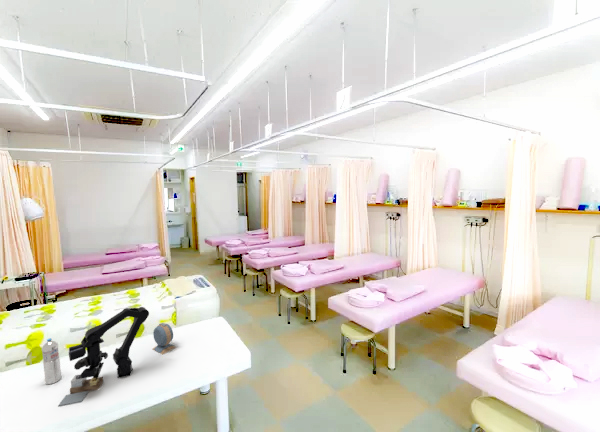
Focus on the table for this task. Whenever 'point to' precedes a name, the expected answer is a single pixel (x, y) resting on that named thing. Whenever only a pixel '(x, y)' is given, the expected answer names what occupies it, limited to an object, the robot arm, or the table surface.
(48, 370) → the water bottle
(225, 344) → the table surface
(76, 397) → the mat
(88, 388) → the plane body
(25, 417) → the table surface
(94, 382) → the lever
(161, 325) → the alarm clock
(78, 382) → the lever cap
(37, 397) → the table surface
